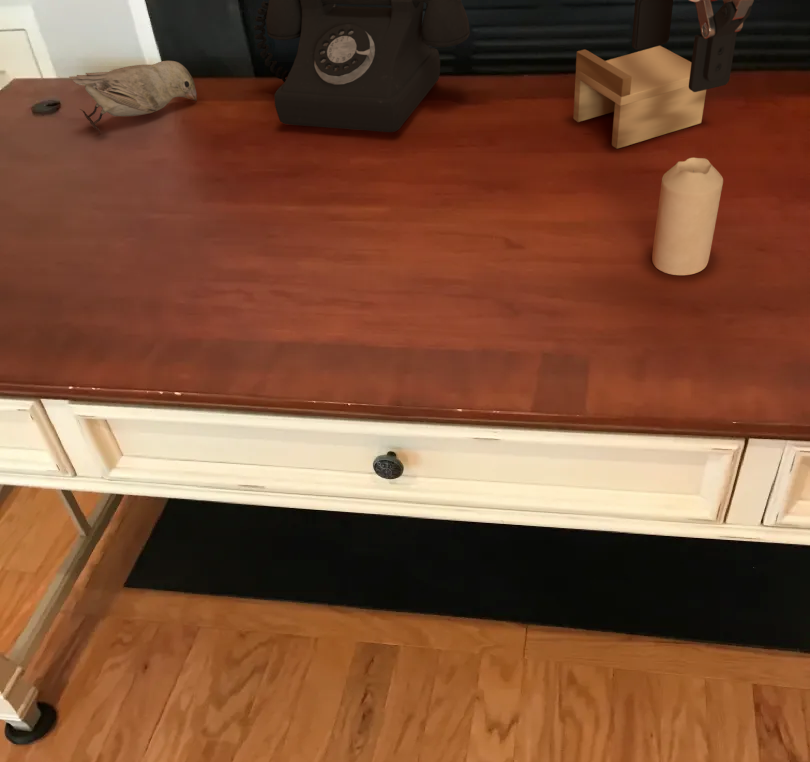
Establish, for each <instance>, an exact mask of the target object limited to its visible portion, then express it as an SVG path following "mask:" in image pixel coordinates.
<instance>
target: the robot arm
mask: <svg viewBox="0 0 810 762" xmlns="http://www.w3.org/2000/svg"><path fill="white" fill-rule="evenodd" d="M716 1H717V0H689V2H693V3H694V5H695V10H696V14H697V19H698V25H699V29H700V34H696V35H694V40H693V49H692V55H691V62H692V63H691V71H690V78H689V89H690V90H691V91H693V92H698V91H703V90H706V91H707V90H711V89H715V88H719V87H723V86H726V85H727V84H728V83H729V81H730V78H731V72H732V67H733V65H732V64H733V59H734V54H735V47H736V41H737V36H738V32H741V31H742V29H743V27H744V22H745V21H746V19H747V18H748V17H749V16H750V15H751V12H752V6H753V3H754V2H755V0H722V2H723V4H722V6H720V7H719V9H718V10H717V12H715V14H714V10H713V5H712V2H716ZM673 7H674V0H634V11H633V23H632V38H631V47H632V48H633V49H635V50H636V51H641V50H645V49H650V48H653V47H657V46H662V45H665V44H667V43H668V42H669V40H670V36H671V27H672V26H671V24H672V18H673V17H672V16H673V9H674V8H673Z"/></svg>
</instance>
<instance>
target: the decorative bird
mask: <svg viewBox="0 0 810 762" xmlns="http://www.w3.org/2000/svg"><path fill="white" fill-rule="evenodd" d="M68 77H69V79H70V80H72V81H73V83H75V84H76V85H78V86H84V89H85V91H86V92H87V94H88V95H89V96H90V97H91V99H93V100H94V101H95V106H94V108H93V111H92V112H91V113H90V114H87V112H85V110H83V109H81V108H79V110H80V111H82V113H83V114H84V117H85V118H86V120H87V121H89V124H90V125H91V126H92V128H94V129H95V130H97V131H98V133H99V134H101V131H100V129H99V127H98V126H97V124H98V123H99V122H100V121H101V120H102V117H103V116H104V115H105V114H109V115H111V116H112V117H135V116H143V115H144V116H145V115H148V114H149V115H150V114H153V113H155V112H157V111H160V110H162V109H163V108H165V107H166V106H167V105H168V104H169V103H170V102H171V101H173V99H174V98H185V99H188V100H191V101H194V102H197V100H198V94H197V93H198V92H197V90H196V84H195V81H194V79H193V75H191V73H190V71H189V70H188V69H187V68H186V67H185V66H184V65H183V64H182V63H180V62H178V61H174V60H163V61H158V62H156V63H153V64H135V65H128V66H124V67H119V68H115V69H111V70H109V71H100V72H99V71H97V72H85V74H76V76H75V75H73V76H70V75H69V76H68ZM98 108H101V110H100V113H99V116H98V119H96V120H95V121H93V120H92V119H91V117H92V116H94V115H95V113H97V109H98Z"/></svg>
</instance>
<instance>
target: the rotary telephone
mask: <svg viewBox="0 0 810 762" xmlns="http://www.w3.org/2000/svg"><path fill="white" fill-rule="evenodd" d="M424 3H425V4H426V7H425V11H424ZM260 5H261V7H258V8H257V11H256V12H257V14H258V15H257V16H255V18H254V20H255V22H258V23H261V24H260V25H258V24H256V25H254V26H253V27H254V30H255V31H261V32H260V33H256V34H254V39H255V40H261V41H260V42H258V43H257V44H256V48H257V49H258V50H261V51H260V53H259V56H260V57H261V58H262V59H265V60H264V65H265V66H266V67H269V71H270V73H271V74H275V77H276V78H277V79H278V80H282V82H283V83H282V84H281V85H280V86H278V88H277V89H276V91H275V92H274V95H273V96H274V97H273V98H274V107H275V110H276V114H277V116H278V120H279V121H280V122H281V123H282V124H283V125H288V126H289V125H290V126H291V125H292V126H303V127H315V128H329V129H343V130H357V131H370V132H380V133H381V132H382V133H395V132H397V131H399V130H400V129H401V128H402V126H403V125H404V124H405V123H406V121H407V120H409V117H410V116H411V115H412V114H413V112H414V111H415V110H416V109H417V108H418V106H419V105H420V104H421V102H422V101H423V100H424V98H425V97H426V96H427V94H428V93H429V92H430V91H431V89H433V87H434V86H435V85H436V83H437V82H438V81H439V78H440V76H441V59H440V52H439V50H438V49H437V48H449V47H453V46H457V45H460V44H462V43H463V42H465V41H466V40H468V38H469V37H470V34H471V32H470V29H471V28H470V22H469V19H468V15H467V11H466V9H465V7H464V5H463V2H462V0H268V1H265V0H263V1H262V2H261V3H260ZM379 6H381V7H379ZM382 6H384V7H382ZM385 6H389V7H385ZM390 6H391V7H390ZM265 26H266V28H264V27H265ZM266 31H267V32H266ZM266 33H267V36H268V37H269V38H270V39H272V40H276V41H289V40H295V39H299V42H298V46H297V52H296V56H295V57H294V61H293V64H292V67H291V68H290V70H289V72H288V70H285V71H283V72H282V70H283V66H281V65H280V66H278V67H277V68H275V67H276V65H278V61H277V60H271V59H272V58H273V56H274V55H273V54H272V53H271V52H269V50H270V47H269V45H268V44H266V42H267V37H266V36H265V35H266ZM281 72H282V74H281V75H280V73H281Z"/></svg>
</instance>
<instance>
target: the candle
mask: <svg viewBox="0 0 810 762" xmlns="http://www.w3.org/2000/svg"><path fill="white" fill-rule="evenodd" d="M660 184H661V185H660V192H659V200H658V207H657V214H656V223H655V231H654V238H653V247H652V253H651V255H652V257H651V262H652V264H653V266H654V267H655V268H656V269H657V270H659V271H660V272H663V273H665V274H668V275H672V276H690V275H695V274H697V273H699V272H701V271H703V270H704V269H706V267H707V266H708V264H709V260H710V257H711V250H712V245H713V240H714V234H715V228H716V223H717V217H718V212H719V206H720V200H721V194H722V191H723V184H724V178H723V176H722V174H721V173H720V172H719V171H718V170H717V169H716V167H714V166H713V164H712V163H711V162H710V161H709V160H708V159H707V158H704V157H703V158H702V157H689V158H687V159H685V160H684V161H677V162H676V164H675V165H673V166H672V167H671V168H670V169H668V170H667V171H666V172H665V173H664V174H663V175H662V177H661V183H660Z"/></svg>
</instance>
